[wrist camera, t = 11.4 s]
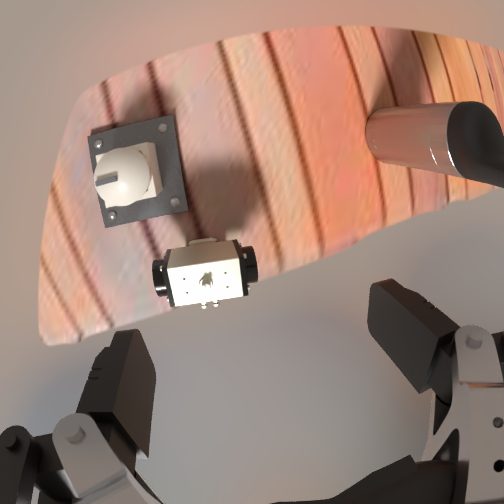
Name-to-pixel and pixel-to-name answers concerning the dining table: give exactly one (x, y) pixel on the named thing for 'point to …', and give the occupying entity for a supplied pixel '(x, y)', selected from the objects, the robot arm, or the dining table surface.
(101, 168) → the knob
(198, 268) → the pneumatic valve
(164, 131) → the shaft mount
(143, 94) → the dining table surface
